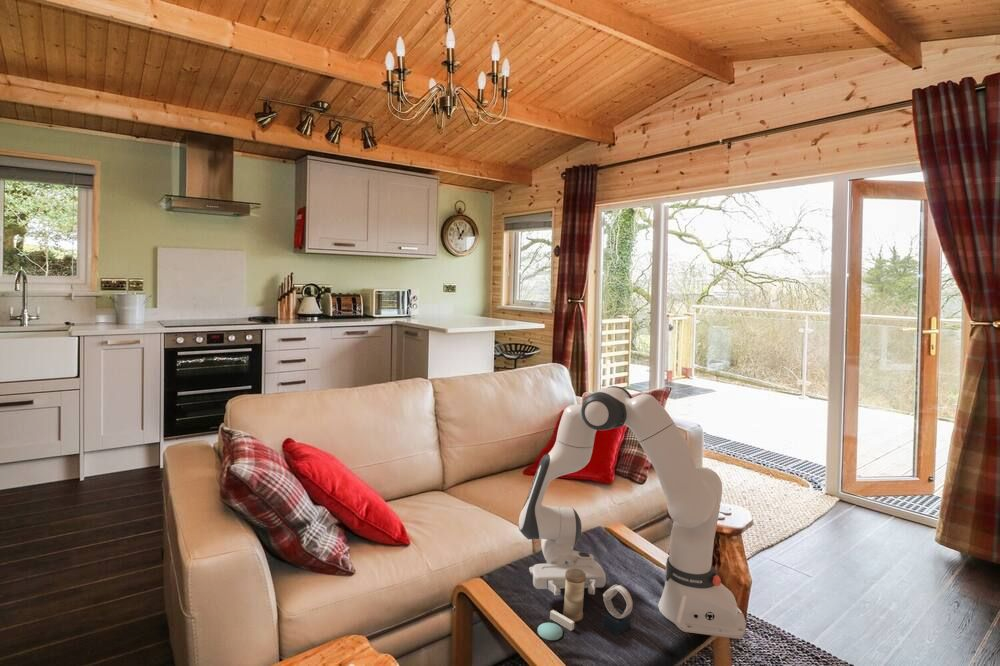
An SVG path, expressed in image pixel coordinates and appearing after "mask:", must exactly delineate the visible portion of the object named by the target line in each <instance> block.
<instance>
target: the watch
mask: <svg viewBox="0 0 1000 666" xmlns="http://www.w3.org/2000/svg"><path fill="white" fill-rule="evenodd" d="M618 593H619V594H621V596H623V598H624V601H625V603H626V607H625V609H624V611H623V610H622V609H620V608H619V607H617V608H615V607H614V604H613V601H612V599H613V598H614V597H615V596H616V595H617V594H618ZM602 597H603V602H604V606H605V608H606V610H607V611H608V612H607V613H605V614H604V615H603V623H602V627H603V628H605V629H606V630H608V631H610V632H611V633H613V634H614V635H615V636H617V635H619V634H620V633H622V632H623V631H625V630H627V629H628V628H630V627H631V626H630V625H631V615H630V614H631V612H632V611H633V606H634V605H633V599H632V596H631V594H630V592H629V591H628V589H627V588H625V587H624V586H622V584H619V585H618V584H617V583H616V584H613V585H612V586H610V587H609V588H608V589H607V590H605V591H604V592H603V594H602Z"/></svg>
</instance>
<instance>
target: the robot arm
mask: <svg viewBox="0 0 1000 666" xmlns="http://www.w3.org/2000/svg"><path fill="white" fill-rule="evenodd" d="M623 426H625V427H627V428H629V430H630V431H631V432H632V433H633V435H634V436H635V438H636V439H637V442H638V444H639V445H640V446H641V448H642V450H643V452H644V454H645V455H646V456H647V458H648V460H649V461H650V464H651V465H652V467H653V469H654V470H655V473H656V475H657V477H658V481H659V484H660V485H661V489H662V491H663V494H664V496H665V500H666V505H667V512H668V515H669V517H670V518H671V520H672V521H673V525H672V528H671V532H670V540H669V541H670V542H669V552H668V557H667V558H666V561H665V571H664V572H665V573H664V574H665V575H664V576H665V582H664V588H663V591H662V594H661V597H660V599H659V602H658V605H657V608H658V609H659V612H660V613H661V614H662V615H663V617H665V619H667V620H668V621H670V622H672V623H673V624H675V626H676V627H677V628H678V629H679V630H681V632H685V633H692V634H697V635H698V634H699V635H706V636H712V637H715V636H716V637H722V638H732V639H742V638H743V636H745V634H746V629H747V627H746V626H747V622H746V618H745V615H744V613H743V612H742V610H741V609H740V608H739V607H738V603H737V601H736V597H735V596H734V593H732V591H731V590H730V589H729V588H727V587H726V586H725V585H724V584H723V583H722V581H721V580H722V579H721V577H720V576H719V574H720V573H719V570H718V568H717V565H712V564H713V553H714V552H713V551H714V544H715V537H716V533H717V532H716V531H717V525H718V521H719V516H720V511H721V510H720V508H721V502H722V495H723V484H722V479H721V478H720V476H719V474H718V473H717V472H715V471H714V470H713V469H711V468H708V467H703V466H702V467H700V466H699V467H696V466H697V465H696V464H695V461H694V459H693V455H692V451H691V447H690V445H689V443H688V442H687V440H686V439H685V437H684V436H683V434H682V432H681V431H680V429H679V428H678V427H677V424H676V423H675V422H674V420H673V418H672V417H671V415H670V414H669V413H668V412H667V410H666V409H665V407H663V405H662V404H661V403H660V402H659V401H658V400H657V398H656V397H654V396H653V395H652V394H649V393H644V394H643V393H641V394H638V395H636V396H632V394H631V393H630V392H629V391H628V390H627V389H625V388H623V387H621V386H617V385H616V386H615V385H612V386H608V387H603V388H601V389H598V390H597V391H595V392H593V393H591V394H589V395H588V396H587V397H586V398H585V399H584V401H583V403H582V404H581V403H576V404H575V403H574V404H570V405H567V406H566V408H565V409H564V410H563V412H562V415H561V418H560V421H559V425H558V429H557V434H556V439H555V442H554V444H553V447H552V448H551V450H550V451H549V452H548V453H546V454H544V455H543V456H542V457H541V459H540V461H539V463H538V466H537V468H536V471H535V473H534V477H533V480H532V483H531V485H530V488H529V492H528V494H527V497H526V500H525V503H524V504H523V506H522V508H521V512H520V513H519V518H518V530H519V531H520V533H521V534H522V535H523V536H524V538H526V539H527V540H531V541H532V540H540V544H541V551H542V555H543V557H544V559H545V561H546V563H536V564H533V565H532V566H530V567H529V568H528V571H529V573H530V575H532V585H533V587H534V588H535V589H537V590H548V591H550V592H552V593H553V594H554V596H561V589H565V583H566V578H565V572H566V571H567V570H568V569H572V568H575V569H580V570H582V571H583V572H585V574H586V579H585V583H584V589H586V588H587V593H588V594H589V595H590V596H591V595H592V596H593V595H596V588H604V587H605V585H606V581H607V580H606V578H607V577H606V572H605V570H604V569H603V567H602V566H601V564H600V563H599V562H598V561H597V560H595V558H594V555H593V554H592V553H588V552H581V551H579V550H578V551H577V550H575V549H574V548H575V547H576V546H577V544H578V543H579V541H580V539H581V535H582V529H583V528H582V521H581V518H580V516H579V514H578V513H577V511H576V510H575V509H574V508H573V507H569V506H555V505H554V506H553V505H542V504H543V501H544V498H545V495H546V492H547V489H548V486H549V485H550V484H551V482H552V481H554V480H555V479H557V478H559V477H563V476H565V475H569V474H572V473H576V472H579V471H580V470H582V469H584V468H585V467H586V466H587V465H588V464H589V463H590V461H591V458H592V454H593V450H594V445H595V444H594V443H595V439H596V433H597V431H608V430H612V429H618V428H622V427H623Z"/></svg>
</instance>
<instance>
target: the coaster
mask: <svg viewBox="0 0 1000 666" xmlns="http://www.w3.org/2000/svg"><path fill="white" fill-rule="evenodd" d="M537 634H538V635H539V637H541V638H542V639H544V640H546V641H558V640H559V639H561V638H562V637H563V634H564V633H563V629H562V627H561V625H560V626H559V625H558V623H554V622H544V623H541V624H540V625H538V627H537Z"/></svg>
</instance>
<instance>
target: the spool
mask: <svg viewBox="0 0 1000 666" xmlns="http://www.w3.org/2000/svg"><path fill="white" fill-rule="evenodd" d="M565 578H566V583H565V588H564V598H563V599H564V600H563V601H564V602H563V609H562V615H563V616H565V617H567V618H569V619H570V620H572V621H574V623H579V622H580V621H581V622H582V620H583V619H584V612H583V608H584V595H585V588H584V583H585V579H586V574H585V572H583V571H582V570H580V569H575V568H572V569H568V570H567V571H566V572H565Z"/></svg>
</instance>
